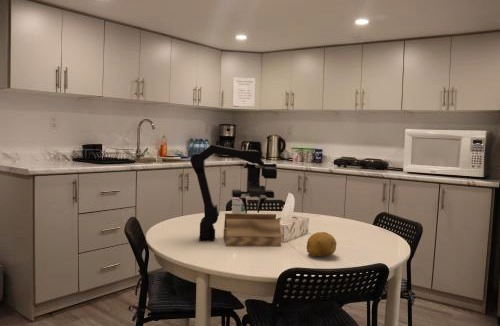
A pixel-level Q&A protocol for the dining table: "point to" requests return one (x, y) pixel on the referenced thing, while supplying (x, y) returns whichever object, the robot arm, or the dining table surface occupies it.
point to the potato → (321, 244)
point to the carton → (251, 241)
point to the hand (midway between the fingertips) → (252, 212)
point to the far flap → (248, 216)
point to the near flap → (253, 228)
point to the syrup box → (238, 206)
